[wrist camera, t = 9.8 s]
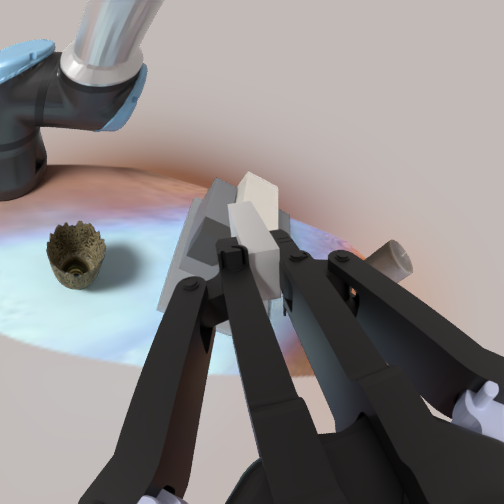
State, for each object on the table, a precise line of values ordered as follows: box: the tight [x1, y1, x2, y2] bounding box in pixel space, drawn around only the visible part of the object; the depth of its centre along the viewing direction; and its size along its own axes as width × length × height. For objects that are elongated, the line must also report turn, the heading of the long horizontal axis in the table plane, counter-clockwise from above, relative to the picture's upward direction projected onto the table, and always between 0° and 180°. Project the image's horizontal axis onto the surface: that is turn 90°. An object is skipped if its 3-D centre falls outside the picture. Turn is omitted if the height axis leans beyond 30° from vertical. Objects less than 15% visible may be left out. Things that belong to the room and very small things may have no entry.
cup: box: [46, 221, 106, 289], centre depth 29 cm, size 8×7×8 cm
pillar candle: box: [355, 240, 413, 291], centre depth 62 cm, size 10×10×15 cm
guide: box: [157, 177, 290, 336], centre depth 44 cm, size 24×17×10 cm
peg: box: [230, 171, 278, 238], centre depth 44 cm, size 14×6×7 cm, turn 175°
